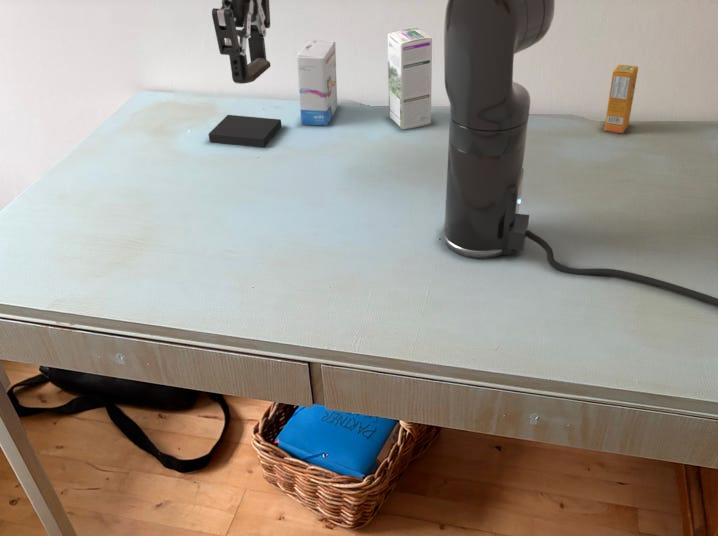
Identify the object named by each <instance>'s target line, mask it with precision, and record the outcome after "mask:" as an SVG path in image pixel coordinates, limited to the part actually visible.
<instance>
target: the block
mask: <svg viewBox="0 0 718 536" xmlns="http://www.w3.org/2000/svg"><path fill="white" fill-rule="evenodd" d="M247 65H248V73H249V80H248V81H247V82H246V83H237V82H234V83H235V84H239V85H243V84H244V85H245V84H250V83H253V82H254V81H256V80H257V79H258V78H259V77H260V76H262V75H263V74H264V73H265V72H266V71H267V70H268V69H269V68H271V61H270V60H267V59H266V60H265V59H264V58H257V59H255V60H254V61H252V62H251V61H250V62H249V63H247Z"/></svg>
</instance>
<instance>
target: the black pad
mask: <svg viewBox="0 0 718 536" xmlns="http://www.w3.org/2000/svg"><path fill="white" fill-rule="evenodd" d="M282 127H283V126H282V119H280V118H267V117H258V116H257V117H256V116H247V115H246V116H245V115H234V114H227V115H226V116H225V117H224V118H223V119H222V120H221V121H220V122H219V123H218V124H217V125H216V126H215V127H214V128H213V129H211V131H210V132H208V139H209V142H210V143H215V144H225V145H233V146H234V145H235V146H244V147H245V146H246V147H253V148H254V147H256V148H266V147H267V146H268V144H269V143H270V142H271V141H272V140H273V139H274V137H275V136H276V135H277V134H278V133H279V132H280V130H281V129H282Z"/></svg>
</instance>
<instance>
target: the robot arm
mask: <svg viewBox="0 0 718 536" xmlns="http://www.w3.org/2000/svg"><path fill="white" fill-rule="evenodd" d="M555 3H556V0H447V3H446V7H445V12H444V13H445V14H444V24H443V25H444V26H443V32H444V33H443V59H444V61H443V62H444V63H443V66H444V67H443V68H444V88H445V92H446V95H447V98H448V102H449V108H450V109H449V129H448V148H447V149H448V150H447V171H446V187H445V189H446V190H445V192H446V193H445V211H444V226H443V227H444V229H443V237H442V238H443V242H444V244H445V246H446V248H448V249H449V250H451V251H452V252H453V253H455V254H457V255H460V256H462V257H463V256H464V257H468V258H474V259H489V258H494V257H498V256H511V254H512V250H517V251H523V250H524V247H525V243H526V239H527V238H528V239H529V240H531V241H533V242H535V243H536V244H537V245H539V246H540V247H541V248H542V249H543V250H544V251H545V254H546V259H547V262H548V264H549V265H550V267H552V268H554V269H555V270H556V271H559V272H561V273H565V274H569V275H577V276H611V277H617V278H621V279H627V280H631V281H635V282H639V283H644V284H647V285H650V286H654V287H658V288H661V289H664V290H668V291H671V292H674V293H676V294H677V293H678V294H681V295H684V296H686V297H690V298H693V299H695V300H698V301H702V302H705V303H708V304H710V305H713V306H716V307H718V297H714V296H712V295H709V294H705V293H703V292H699V291H697V290H693V289H691V288H688V287H684V286H681V285H677V284H675V283H671V282H668V281H665V280H660V279H658V278H654V277H650V276H646V275H643V274H639V273H634V272H630V271H627V270H626V271H625V270H620V269H615V268H573V267H568V266H566V265H563V264H562V263H560V262H558V261H557V260H556V259H555V255H554V251H553V248H552V247H551V245H550V244H549V243H548V242H547V241H546V240H545V239H543V238H542V237H540V236H539V235H537V234H536V233H533V232H532V231H531V230H529V223H530V214H524V213H520V205H521V196H522V189H523V180H524V172H525V170H524V167H523V166H524V158H525V151H526V143H527V142H526V141H527V132H528V125H529V124H528V123H529V117H530V108H531V96H530V95H531V94H530V93H529V91H528V89H527V88H526V87H525V86H524V85H522V84H520V83H519V82H515V81H514V80H513V79H514V78H513V77H514V61H515V60H514V57H515V54H518V53H520V52H522V51H524V50H525V51H526V50H527V49H528V48H531V47H533V46H535V45H537V43H539V42H540V41H542V39H544V37H545V36H546V35H547V33H548V32H549V30H550V28H551V25H552V23H553V19H554V15H555V8H556V7H555V5H556V4H555ZM211 17H212V22H213V27H214V31H215V32H214V33H215V37H216V41H217V45H218V50H219V54H220V55H224V56H229V64H230V71H231V79H232V81H233V83H235V82H237V83H236V84H238V83H244V84H247V83H246V82H247V81H248V80H249V73H248V59H247V57H248V56H247V43H248V50H249V51H248V53H249V58H250V62H252V61H254V60H255V59H257V58H264V59H265V60H267V51H266V42H265V37H266V36H267V29H270V28H271V11H270V0H221V7H220V8H218V7H217V8H215V7H214V8H212V10H211ZM237 28H241V29H237Z"/></svg>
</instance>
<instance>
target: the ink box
mask: <svg viewBox="0 0 718 536" xmlns="http://www.w3.org/2000/svg"><path fill="white" fill-rule="evenodd" d="M336 53H337V52H336V41H330V40H329V41H328V40H327V41H326V40H318V39H309V40H307V41H306V43H305V44H304V45H303V47H302V48H301V49H300V50H299V51H298V52H297V54H296V65H297V66H296V67H297V80H298V81H297V82H298V97H299V111H300V124H301V125H302V126H303V125H308V126H324V127H325V126H326V127H327V126H328V125H329V123H330V121H331V119H332V117H333V116H334V114H335V113H336V110H337V108H338V83H337V81H338V80H337V57H336V56H337V55H336Z"/></svg>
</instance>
